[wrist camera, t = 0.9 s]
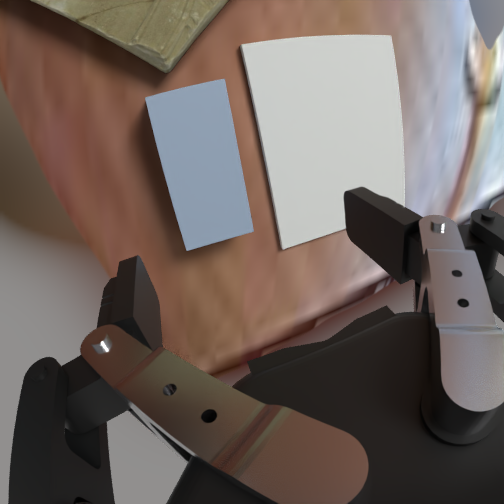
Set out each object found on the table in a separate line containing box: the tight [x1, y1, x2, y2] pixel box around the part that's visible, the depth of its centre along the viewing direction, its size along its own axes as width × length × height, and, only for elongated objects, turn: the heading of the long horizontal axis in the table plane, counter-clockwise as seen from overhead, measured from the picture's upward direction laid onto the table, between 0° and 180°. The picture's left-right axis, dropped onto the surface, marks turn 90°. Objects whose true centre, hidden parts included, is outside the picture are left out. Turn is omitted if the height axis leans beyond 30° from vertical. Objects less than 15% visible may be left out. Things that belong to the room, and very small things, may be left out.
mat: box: [240, 35, 405, 249], centre depth 27 cm, size 19×15×1 cm
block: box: [145, 79, 254, 251], centre depth 24 cm, size 12×6×4 cm, turn 10°
